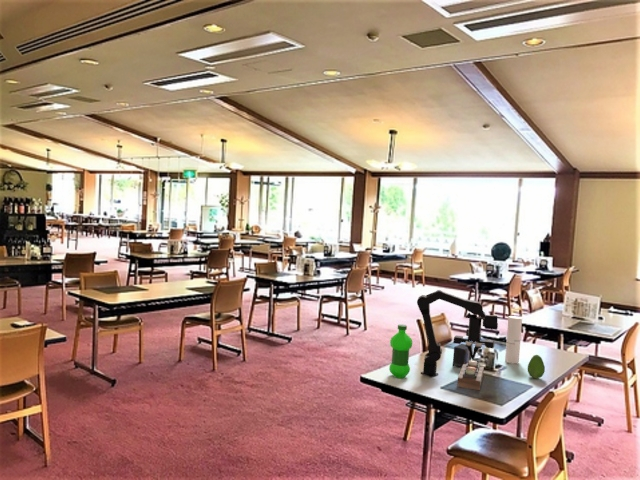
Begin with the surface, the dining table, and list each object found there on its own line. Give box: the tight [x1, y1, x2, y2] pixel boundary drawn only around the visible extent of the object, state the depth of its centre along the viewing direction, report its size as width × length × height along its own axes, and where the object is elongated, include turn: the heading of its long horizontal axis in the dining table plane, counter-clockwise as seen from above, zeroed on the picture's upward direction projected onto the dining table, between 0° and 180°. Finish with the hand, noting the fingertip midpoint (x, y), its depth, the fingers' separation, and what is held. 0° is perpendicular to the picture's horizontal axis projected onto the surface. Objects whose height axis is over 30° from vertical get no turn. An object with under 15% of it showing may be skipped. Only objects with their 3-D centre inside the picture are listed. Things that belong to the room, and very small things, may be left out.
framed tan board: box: [456, 363, 485, 391], centre depth 252 cm, size 26×10×6 cm, turn 159°
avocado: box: [527, 354, 546, 380], centre depth 261 cm, size 8×8×12 cm
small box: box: [452, 343, 472, 369], centre depth 276 cm, size 11×6×10 cm, turn 143°
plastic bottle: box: [389, 324, 413, 379], centre depth 251 cm, size 10×10×25 cm
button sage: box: [466, 369, 475, 375], centre depth 244 cm, size 4×4×2 cm
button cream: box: [469, 359, 478, 366], centre depth 259 cm, size 4×4×2 cm
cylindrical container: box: [504, 315, 523, 364], centre depth 289 cm, size 7×7×25 cm
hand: (472, 359), depth 253 cm, fingers closed
